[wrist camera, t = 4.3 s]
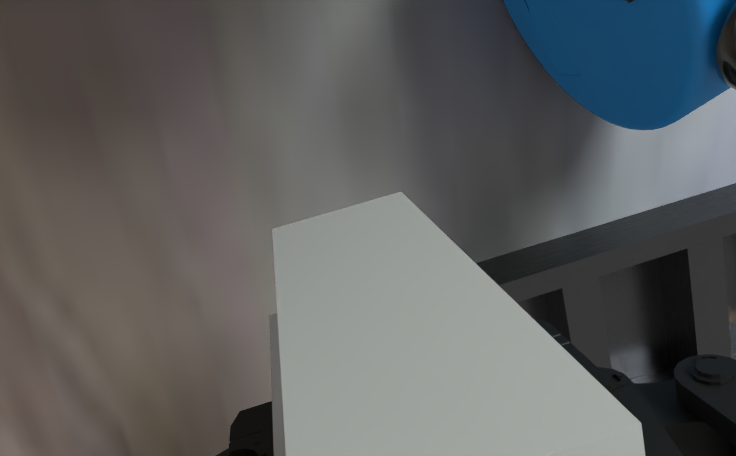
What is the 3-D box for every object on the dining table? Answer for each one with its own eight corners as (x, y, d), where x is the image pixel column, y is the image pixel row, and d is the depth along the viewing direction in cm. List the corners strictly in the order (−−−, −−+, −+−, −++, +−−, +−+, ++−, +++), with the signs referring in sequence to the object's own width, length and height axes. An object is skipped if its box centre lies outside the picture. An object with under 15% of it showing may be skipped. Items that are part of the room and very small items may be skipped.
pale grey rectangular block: (270, 229, 18) (286, 543, 6) (402, 191, 18) (646, 421, 7) (332, 424, 20) (427, 921, 8) (449, 386, 20) (693, 814, 9)
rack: (409, 283, 32) (426, 309, 29) (786, 167, 34) (844, 179, 31) (451, 452, 36) (471, 493, 32) (793, 336, 38) (846, 363, 34)
